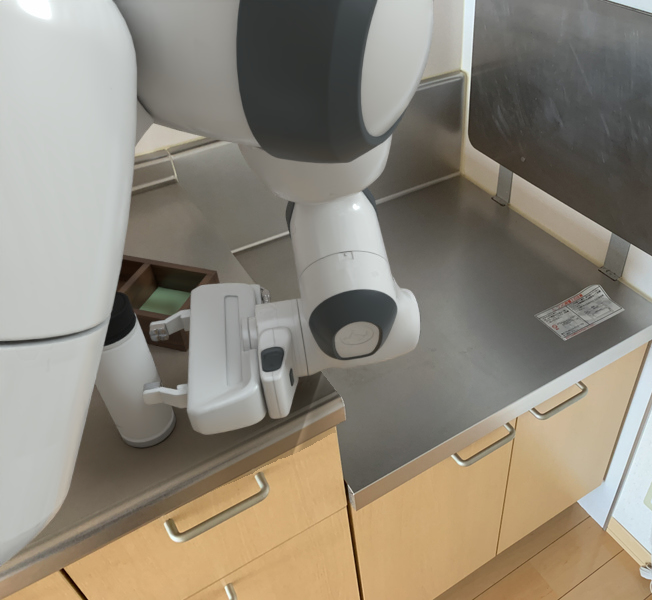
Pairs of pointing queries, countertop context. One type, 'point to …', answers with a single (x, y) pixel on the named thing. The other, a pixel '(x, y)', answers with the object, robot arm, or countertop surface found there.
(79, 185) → the robot arm
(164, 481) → the countertop surface
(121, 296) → the travel mug
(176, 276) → the divided wooden tray
